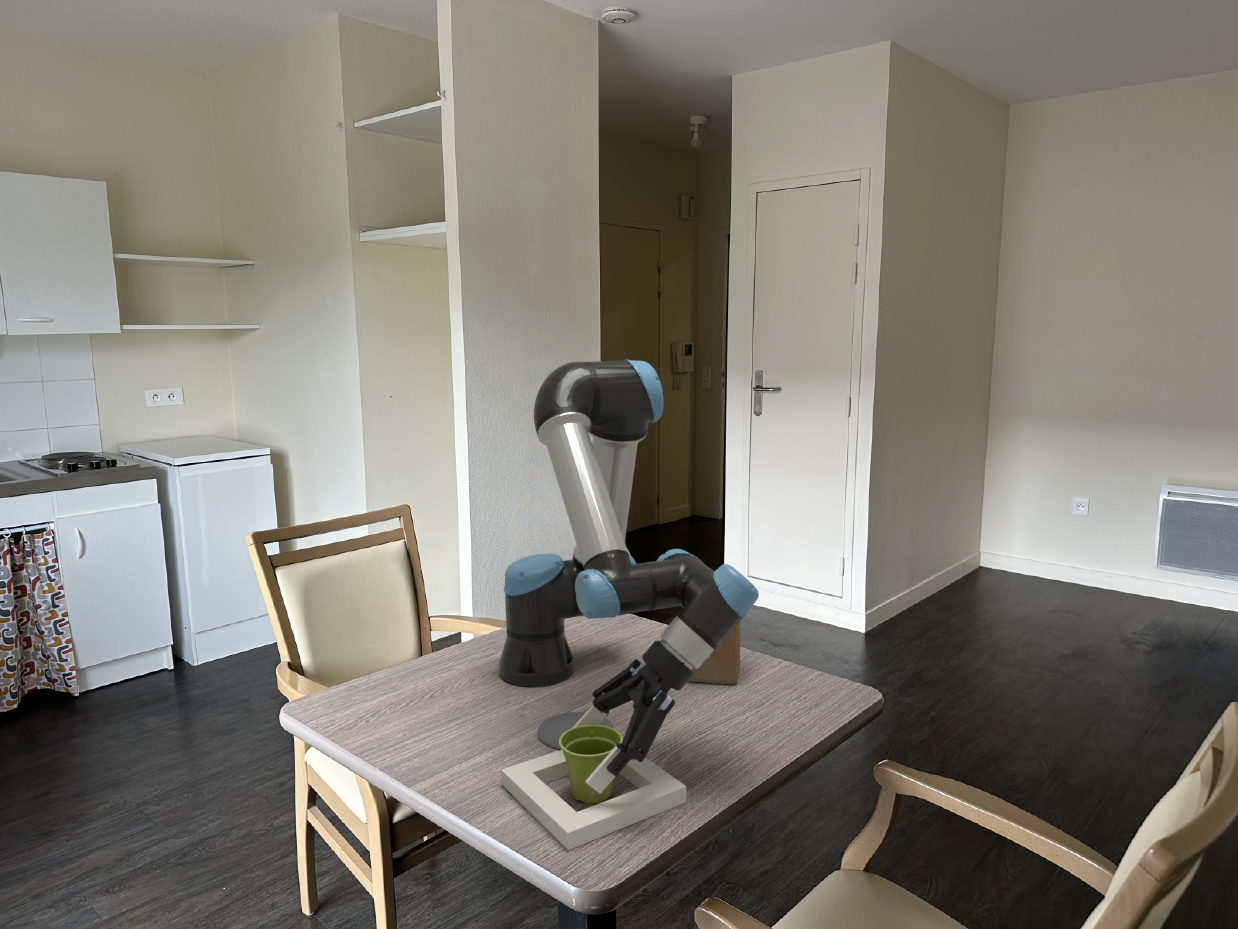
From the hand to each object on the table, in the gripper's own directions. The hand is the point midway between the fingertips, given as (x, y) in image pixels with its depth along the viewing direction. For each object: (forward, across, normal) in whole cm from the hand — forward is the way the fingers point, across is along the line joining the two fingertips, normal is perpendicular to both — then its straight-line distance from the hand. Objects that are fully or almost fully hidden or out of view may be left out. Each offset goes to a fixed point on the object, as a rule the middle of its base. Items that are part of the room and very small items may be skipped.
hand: (581, 764), depth 125 cm
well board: (+2, 0, -5) cm, 5 cm away
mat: (+1, +20, -6) cm, 21 cm away
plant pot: (+3, 0, -5) cm, 6 cm away
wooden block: (-21, +35, -29) cm, 50 cm away
